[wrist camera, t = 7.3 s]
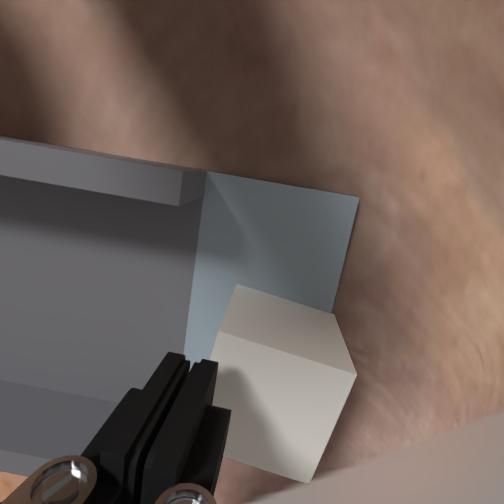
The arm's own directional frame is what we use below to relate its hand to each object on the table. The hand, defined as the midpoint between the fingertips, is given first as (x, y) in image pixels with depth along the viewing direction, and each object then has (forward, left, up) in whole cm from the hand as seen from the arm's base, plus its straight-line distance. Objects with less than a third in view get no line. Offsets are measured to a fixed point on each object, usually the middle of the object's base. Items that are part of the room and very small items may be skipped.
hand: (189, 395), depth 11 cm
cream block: (-3, +1, -6) cm, 7 cm away
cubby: (+7, 0, -7) cm, 10 cm away
